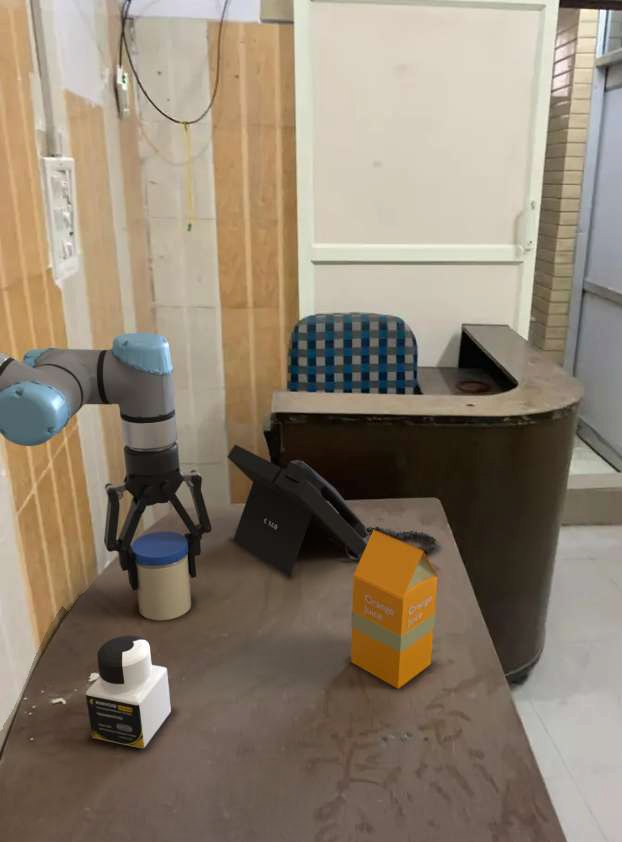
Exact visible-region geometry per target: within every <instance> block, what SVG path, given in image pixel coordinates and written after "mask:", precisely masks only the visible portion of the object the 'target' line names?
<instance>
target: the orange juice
mask: <svg viewBox="0 0 622 842" xmlns="http://www.w3.org/2000/svg"><path fill="white" fill-rule="evenodd" d="M366 543H367V546H366V548H365V550H364V553H363V555H362V557H361V560H359V562H358V563H357V567H356V569H355V571H354V573H353V575H352V608H351V610H352V611H351V644H350V645H351V652H350V663H352V664H354V665H356V666H357V667H359V668H361V669H362V670H364V671H366V672H368V673H370V674H371V675H373V676H375V677H376V678H378V679H380V680H381V681H384V682H385V683H387V684H389V685H391V686H392V687H394V688H396V689H400V688H401V687H403V686H404V685H405V684H406V683H408V682H409V681H410V680H412V679H413V678H414V677H416V676H417V675H418V674H420V673H421V672H422V671H424V670H425V669H426V668H428V667H429V666H430V665H431V664H432V654H433V642H434V630H435V620H436V603H437V590H438V578H439V575H438V574H437V572H436V570H435V568H434V567H433V565H432V563H431V561H430V560H429V558H428V556H427V554H426V553H424V551H423V550H421V549H419V548H418V547H417V546H415V545H412V544H410V543H406V542H405V541H403V540H401V539H399V540H398V539H397V538H396V539H395V538H393V537H391V536H388V535H386V534H383V533H381V532H379V531H376V530H374V529H373V532H372V534H371V535H370V536H369V539H368V541H367V542H366ZM416 547H417V548H416Z"/></svg>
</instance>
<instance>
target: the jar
mask: <svg viewBox="0 0 622 842" xmlns="http://www.w3.org/2000/svg"><path fill="white" fill-rule="evenodd" d="M135 567H136V577H137V586H138V590H136V593H137V602H138V611H139V613H140V614H141V616H143V617H144V618H146V619H148V620H153V621H169V620H174V619H176V618H179V617H181V616H183V615H185V614H187V612H188V611H190V609H191V607H192V595H191V594H192V593H191V581H190V580H191V579H190V578H191V577H190V574H189V565H188V554H187V556H185V557H184V558H183V559H181V560H180V561H178V562H175V563H172V564H169V565H163V566H147V565H143V564H140V563H138V562H136V561H135Z"/></svg>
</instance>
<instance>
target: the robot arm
mask: <svg viewBox="0 0 622 842" xmlns="http://www.w3.org/2000/svg"><path fill="white" fill-rule="evenodd" d="M84 405H85V406H86V405H104V406H105V405H107V406H108V405H111V406H112V405H118V408H119V417H120V422H121V423H120V424H121V425H120V426H121V436H122V443H123V444H124V447H123V456H124V465H125V477H124V479H123V481H122V482H118V483H116V484H113V483H111V482H107V483H106V484H105V485H104V490H105V493H106V496H107V505H106V515H105V528H104V534H103V535H104V537H103V543H104V546H105V548H106V550H107V551H108V552H109V553H112V552H118V561H119V567H120V568H121V570H122V571H123V572H125V571H127V576H128V583H129V586H130V587H131V590H132V592H134V591H137V590H138V586H137V577H136V567H135V558H134V551H133V549H132V547H131V546H132V543H133V539H134V536H135V534H136V531H137V528H138V526H139V523H140V520H141V518H142V515H143V514H144V513H145V511H146V509H147V507H150V506H154V505H156V504H168V503H169V502H170V504H171V505H172V507H173V508H174V510H175V512H176V513H177V515H178V516H179V518H180V519H181V521H182V522H183V524H184V525H185V527H186V529H187V530H188V531H189V532H187V533H183V534H184V535H183V536H185V537H186V539H187V540H188V549H189V552H188V565H189V577H190V578H191V579H194V578H197V567H196V557H197V556H201V553H202V547H201V541H202V539H203V535H204V534H209V533H211V532H212V530H213V529H212V528H213V527H212V524H211V521H210V517H209V512H208V510H207V506H206V503H205V499H204V496H203V491H202V483H203V478H202V476H201V474H199V472H198V470H196V469H192V470H191V471H190V472H182V470H181V468H180V455H179V454H180V453H179V444H178V443H177V441H178V430H177V418H176V405H175V389H174V366H173V365H172V359H171V350H170V344H169V341H168V340H167V339H166V338H165V337H164V336H162V335H160V334H157V333H153V332H135V333H133V332H132V333H130V332H128V333H124V334H120V335H118V336H116V337H114V339H113V340H112V347H111V348H109V349H86V348H85V349H84V348H83V349H81V348H60V347H48V348H34V349H33V348H32V349H30V350H28V351H26V353H25V354H23V356H22V361H19V360H17V359H15V358H13V357H11V356H10V355H7V354H6V353H3V352H1V351H0V434H1V436H3V437H4V438H5V440H7V441H9V442H10V443H12V444H15V445H18V446H21V447H23V446H24V447H35V446H39V445H43V444H44V443H47V442H48V441H50V440H51V439H52V438H53V437H55V436H57V435H58V434H59V433H62V431H63V429H65V428H66V427H67V425H68V424H69V421H70V420H71V419H72V418H73V417H74V416H75V415H76V414H77V413H78V412H79V411H80V410H81V409H82V408H83V407H84ZM183 482H184V483H185V485H186V486H187V488H189V491H190V495H191V498H192V502H193V505H194V510H195V512H196V516H197V519H198V523H197V524H195V522H194V521H193V519H192V518H191V516H190V515H189V513H188V511H187V510H186V508H185V507H184V505H183V504H182V502H181V501H180V499H179V498H178V496H177V494H176V493H177V491H178V490H179V488H180V487H181V485H182V484H183ZM126 491H127V492H128V493H129V494H130V495H131V496H132V497H131V501H130V507H129V509H128V512H127V515H126V517H125V519H124V522H123V525H122V528H121V530H120V533H119V535H118V526H119V517H120V506H121V504H120V501H121V500H122V499H123V497H124V493H125V492H126ZM117 537H118V538H117Z"/></svg>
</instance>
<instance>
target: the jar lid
mask: <svg viewBox="0 0 622 842" xmlns="http://www.w3.org/2000/svg"><path fill="white" fill-rule="evenodd" d="M131 547H132V549H133V551H134V558H135V561H136V562H138V563H140V564H143V565H147V566H163V565H169V564H172V563H175V562H178V561H180V560H181V559H183V558H184V557H185V556H187V554H188V552H189V549H188V540H187V539H186V537H185V536H184V535H183V534H181V533H179V532H175V531H155V532H150V533H146V534H144V535H141V536H139V537H138V538H136V539H135V540H134V541H132V542H131Z"/></svg>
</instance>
